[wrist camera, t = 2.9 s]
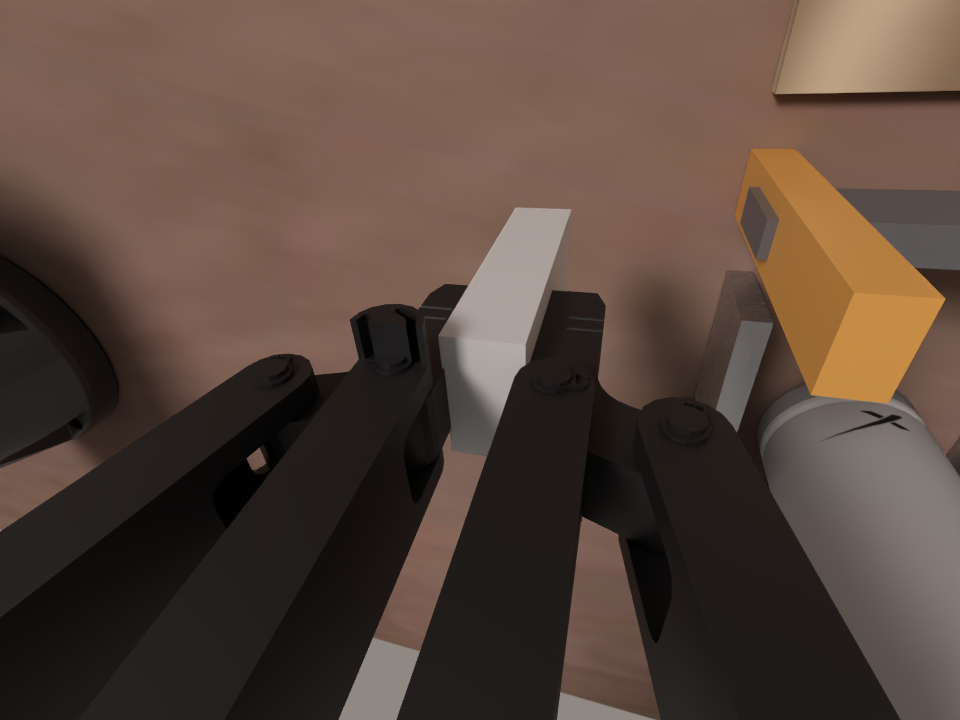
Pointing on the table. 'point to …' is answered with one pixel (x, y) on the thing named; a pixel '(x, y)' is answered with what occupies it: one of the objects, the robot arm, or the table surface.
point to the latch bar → (846, 270)
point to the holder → (742, 350)
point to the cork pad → (870, 47)
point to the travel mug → (876, 534)
